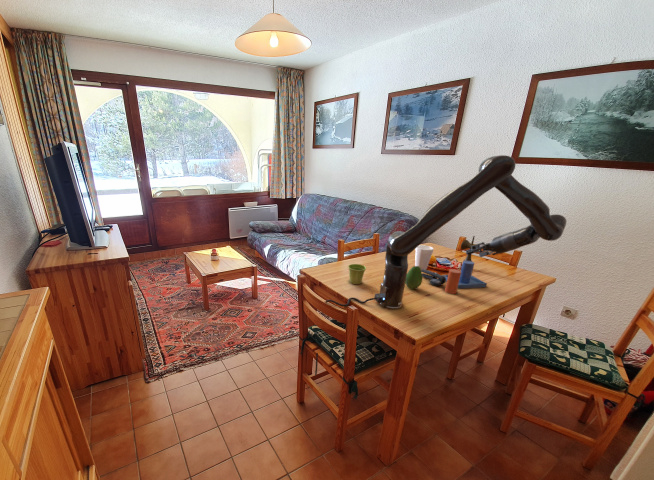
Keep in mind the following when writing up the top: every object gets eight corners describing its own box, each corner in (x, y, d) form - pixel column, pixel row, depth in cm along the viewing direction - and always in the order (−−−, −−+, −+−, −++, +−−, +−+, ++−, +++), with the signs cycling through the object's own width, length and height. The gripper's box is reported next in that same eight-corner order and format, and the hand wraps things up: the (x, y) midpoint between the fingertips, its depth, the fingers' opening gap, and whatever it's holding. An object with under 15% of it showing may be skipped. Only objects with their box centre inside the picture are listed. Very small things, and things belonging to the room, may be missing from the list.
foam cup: (430, 267, 186) (434, 246, 181) (428, 272, 178) (432, 250, 173) (413, 264, 190) (417, 244, 185) (410, 269, 183) (414, 248, 178)
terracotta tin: (448, 294, 151) (453, 273, 147) (442, 289, 156) (447, 269, 152) (458, 293, 152) (463, 272, 147) (452, 289, 156) (456, 268, 152)
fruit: (421, 287, 159) (425, 265, 154) (419, 292, 153) (423, 270, 148) (405, 284, 162) (409, 262, 158) (402, 289, 156) (406, 267, 152)
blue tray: (457, 288, 157) (458, 284, 157) (441, 278, 170) (442, 275, 169) (486, 287, 159) (487, 283, 158) (468, 277, 171) (469, 273, 171)
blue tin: (462, 283, 162) (467, 264, 157) (456, 280, 166) (460, 260, 162) (471, 283, 162) (476, 263, 158) (465, 279, 167) (469, 260, 163)
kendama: (461, 265, 190) (469, 233, 182) (477, 270, 182) (485, 236, 174) (455, 266, 187) (462, 234, 179) (470, 271, 179) (479, 238, 172)
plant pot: (367, 282, 165) (369, 266, 162) (358, 287, 159) (360, 271, 155) (352, 277, 171) (353, 262, 168) (343, 282, 165) (344, 267, 161)
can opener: (448, 286, 159) (450, 276, 157) (436, 288, 158) (438, 277, 156) (426, 274, 175) (428, 265, 173) (415, 275, 174) (417, 266, 172)
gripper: (517, 236, 135) (482, 248, 150) (494, 231, 130) (460, 244, 145) (521, 252, 133) (485, 263, 148) (497, 248, 128) (463, 259, 143)
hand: (473, 253), depth 146 cm, fingers open, 8 cm apart
